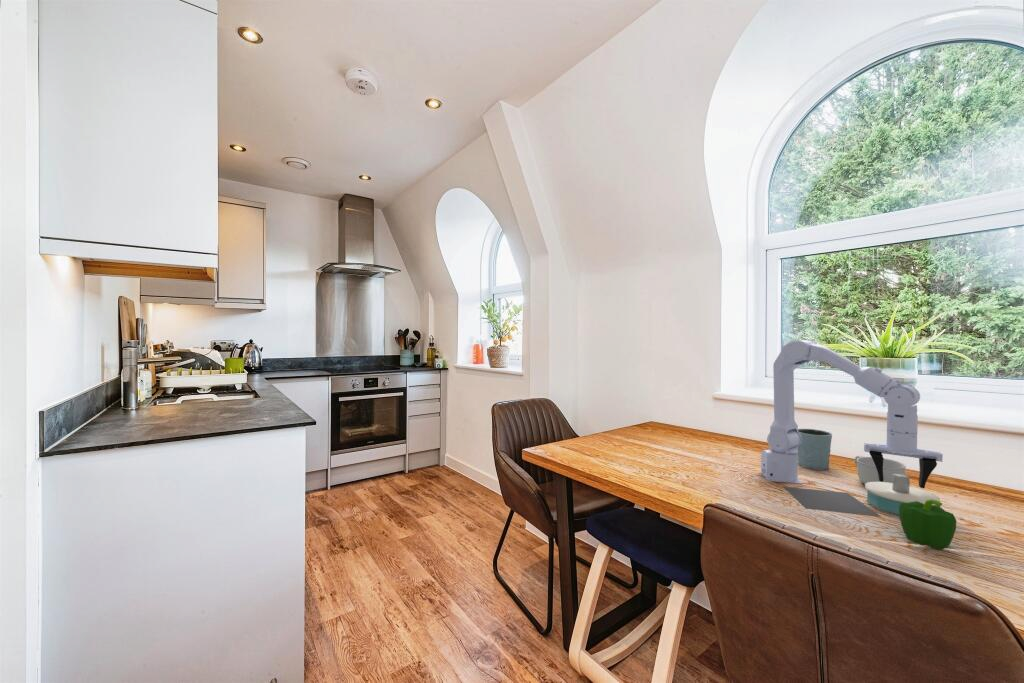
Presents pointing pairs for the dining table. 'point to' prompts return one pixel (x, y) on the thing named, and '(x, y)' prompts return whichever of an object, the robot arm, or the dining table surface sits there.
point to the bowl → (883, 503)
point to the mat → (830, 501)
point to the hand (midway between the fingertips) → (900, 483)
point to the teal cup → (814, 448)
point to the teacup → (869, 471)
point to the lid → (900, 490)
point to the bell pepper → (927, 523)
